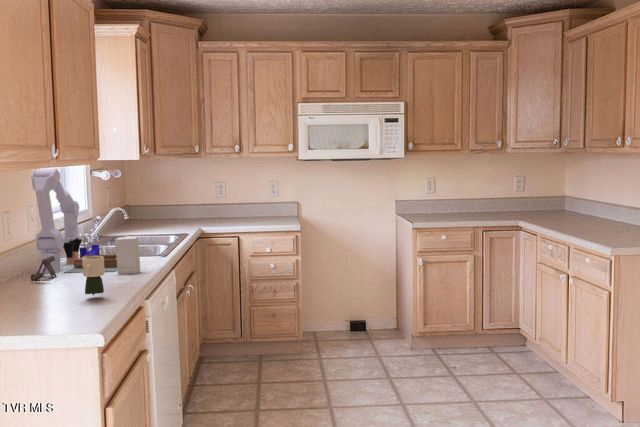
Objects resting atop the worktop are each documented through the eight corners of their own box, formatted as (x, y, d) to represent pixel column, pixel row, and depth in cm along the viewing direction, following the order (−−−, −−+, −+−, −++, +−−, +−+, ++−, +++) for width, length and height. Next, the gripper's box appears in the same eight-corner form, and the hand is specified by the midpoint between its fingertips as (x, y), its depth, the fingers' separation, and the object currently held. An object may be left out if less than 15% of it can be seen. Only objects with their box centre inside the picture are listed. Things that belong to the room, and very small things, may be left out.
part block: (75, 263, 279) (75, 252, 279) (66, 263, 279) (66, 253, 279) (78, 262, 283) (78, 251, 283) (69, 262, 283) (69, 251, 283)
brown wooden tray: (119, 267, 265) (119, 259, 265) (72, 268, 264) (72, 260, 264) (128, 261, 279) (127, 254, 279) (83, 262, 278) (83, 255, 278)
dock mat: (114, 271, 256) (114, 271, 256) (64, 272, 255) (64, 272, 255) (125, 265, 272) (125, 264, 272) (77, 266, 271) (77, 265, 271)
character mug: (90, 291, 218) (88, 255, 217) (110, 290, 218) (108, 254, 217) (78, 297, 207) (76, 260, 206) (99, 297, 207) (97, 259, 206)
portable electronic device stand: (38, 276, 249) (37, 256, 248) (58, 276, 249) (57, 255, 248) (30, 280, 240) (29, 259, 239) (51, 280, 240) (50, 259, 240)
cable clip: (91, 256, 301) (90, 244, 301) (99, 256, 301) (99, 244, 300) (77, 260, 290) (76, 247, 289) (85, 260, 289) (85, 248, 288)
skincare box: (140, 271, 257) (139, 236, 256) (136, 274, 251) (135, 238, 250) (120, 271, 257) (119, 236, 255) (116, 274, 251) (114, 238, 249)
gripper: (74, 228, 273) (75, 258, 274) (85, 225, 287) (86, 253, 288) (58, 228, 272) (59, 258, 274) (70, 225, 287) (71, 253, 288)
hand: (72, 256), depth 281 cm, fingers open, 7 cm apart
